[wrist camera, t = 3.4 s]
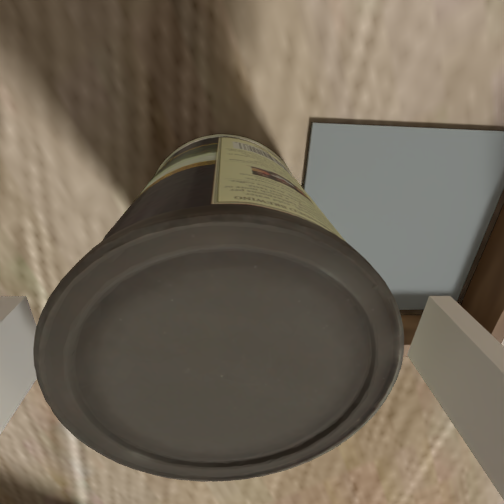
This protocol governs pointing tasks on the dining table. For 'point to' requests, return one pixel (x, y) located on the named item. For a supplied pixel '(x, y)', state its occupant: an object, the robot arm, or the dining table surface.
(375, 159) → the pad
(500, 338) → the brown corner bracket
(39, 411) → the dining table surface
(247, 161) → the coffee can
